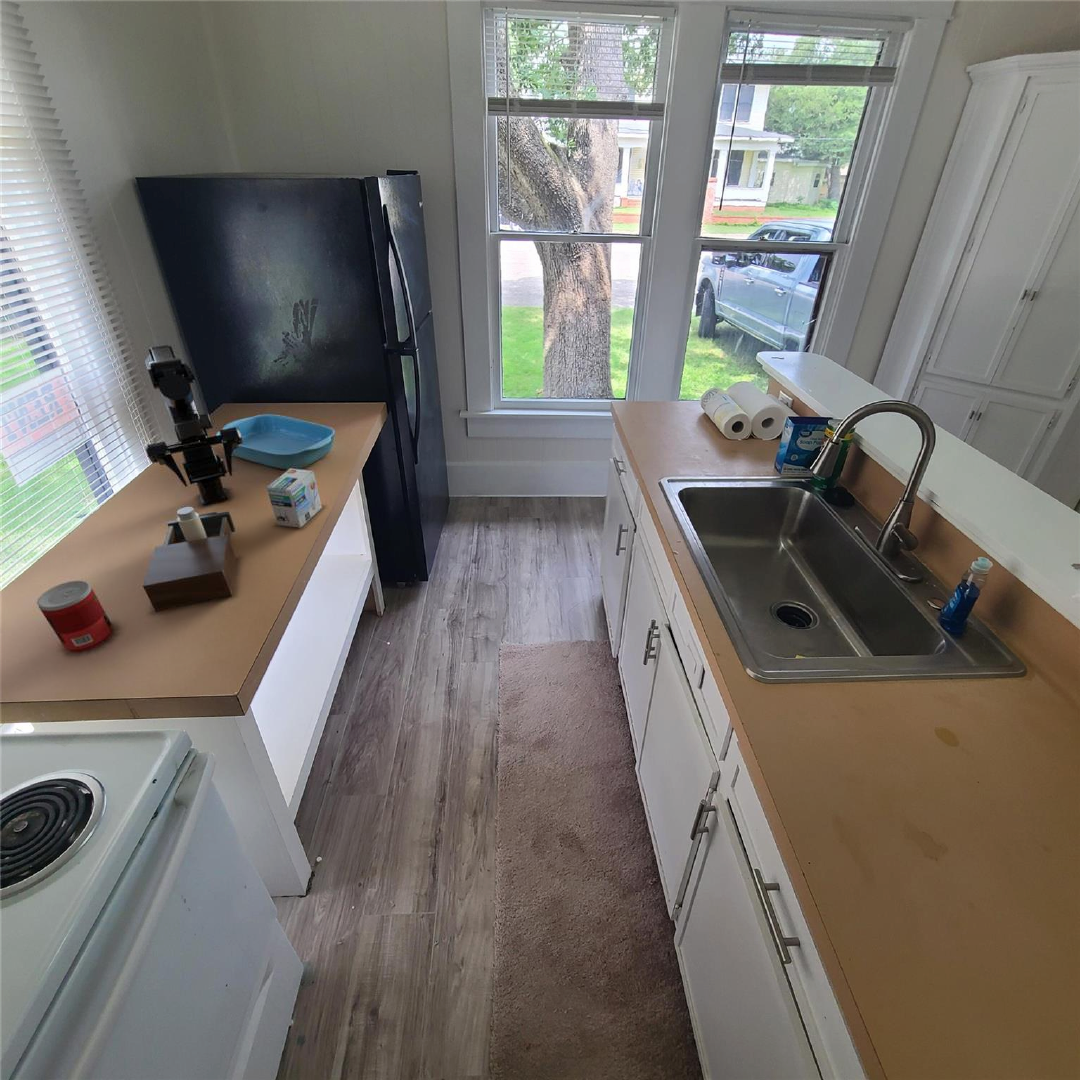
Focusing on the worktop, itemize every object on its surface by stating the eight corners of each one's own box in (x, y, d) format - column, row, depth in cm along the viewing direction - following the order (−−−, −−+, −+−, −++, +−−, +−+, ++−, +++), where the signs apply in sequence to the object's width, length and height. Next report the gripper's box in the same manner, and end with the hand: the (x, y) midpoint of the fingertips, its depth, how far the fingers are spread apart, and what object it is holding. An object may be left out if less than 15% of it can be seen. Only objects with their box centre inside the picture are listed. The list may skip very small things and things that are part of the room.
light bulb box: (301, 528, 142) (290, 490, 136) (276, 525, 143) (264, 487, 137) (323, 506, 150) (314, 470, 144) (299, 504, 151) (289, 467, 145)
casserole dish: (353, 449, 179) (349, 428, 175) (301, 480, 162) (295, 458, 158) (264, 430, 191) (258, 409, 187) (207, 456, 175) (200, 435, 170)
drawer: (178, 530, 139) (170, 512, 137) (236, 520, 143) (230, 503, 140) (167, 571, 126) (158, 552, 123) (231, 559, 130) (225, 540, 127)
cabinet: (166, 571, 127) (154, 547, 123) (236, 558, 131) (227, 534, 127) (155, 612, 116) (142, 586, 112) (232, 596, 120) (222, 570, 116)
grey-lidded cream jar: (190, 547, 132) (173, 508, 126) (210, 542, 133) (195, 503, 128) (191, 556, 129) (174, 517, 123) (212, 551, 130) (196, 512, 125)
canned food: (124, 629, 112) (99, 584, 106) (85, 657, 106) (57, 612, 99) (95, 620, 114) (69, 576, 108) (55, 647, 108) (25, 602, 101)
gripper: (129, 412, 117) (156, 484, 118) (228, 394, 126) (253, 462, 127) (139, 428, 127) (164, 494, 128) (230, 410, 136) (253, 473, 137)
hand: (209, 480), depth 130 cm, fingers open, 9 cm apart
